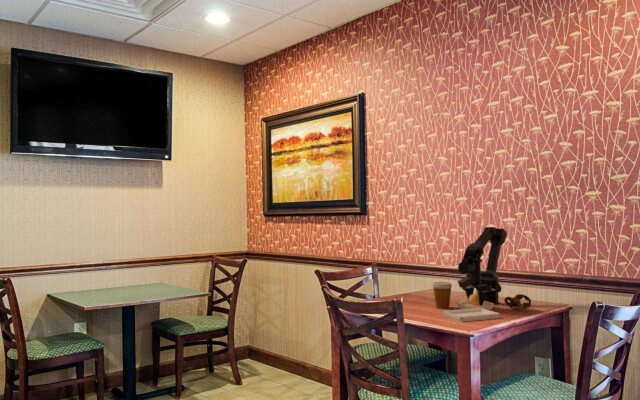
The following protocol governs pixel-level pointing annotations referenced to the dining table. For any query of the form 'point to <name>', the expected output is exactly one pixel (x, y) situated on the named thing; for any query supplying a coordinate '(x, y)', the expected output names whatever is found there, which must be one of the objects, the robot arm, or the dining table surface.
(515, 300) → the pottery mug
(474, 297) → the ball
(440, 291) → the disposable coffee cup
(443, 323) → the dining table surface
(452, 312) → the tray
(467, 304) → the bowl
